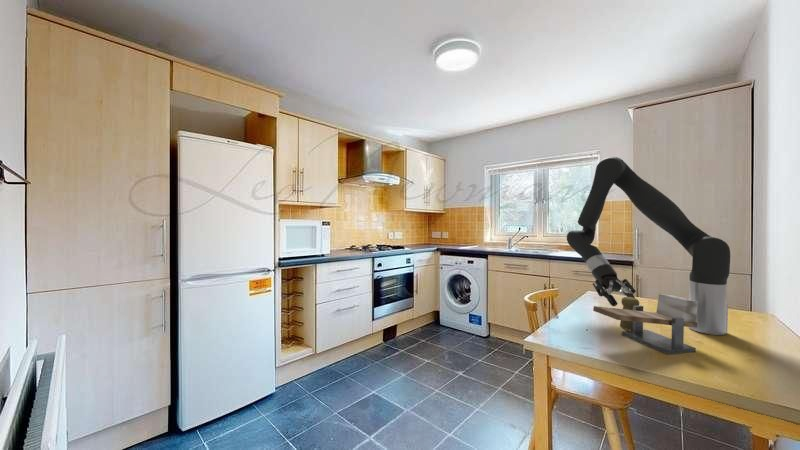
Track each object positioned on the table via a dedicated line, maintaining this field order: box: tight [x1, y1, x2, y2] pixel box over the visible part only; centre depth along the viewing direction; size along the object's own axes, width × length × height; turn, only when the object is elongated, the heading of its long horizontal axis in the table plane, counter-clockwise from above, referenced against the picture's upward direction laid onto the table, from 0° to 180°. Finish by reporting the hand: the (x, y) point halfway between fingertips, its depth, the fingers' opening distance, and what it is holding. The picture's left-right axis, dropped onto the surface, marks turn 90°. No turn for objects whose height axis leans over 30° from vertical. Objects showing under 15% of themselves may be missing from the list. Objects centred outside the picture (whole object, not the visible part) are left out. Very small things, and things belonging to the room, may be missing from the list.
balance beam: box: [592, 293, 698, 328], centre depth 96 cm, size 28×11×8 cm, turn 100°
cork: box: [619, 296, 640, 331], centre depth 110 cm, size 6×6×11 cm
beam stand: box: [621, 304, 697, 355], centre depth 96 cm, size 10×15×10 cm, turn 9°
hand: (625, 304), depth 112 cm, fingers open, 8 cm apart
